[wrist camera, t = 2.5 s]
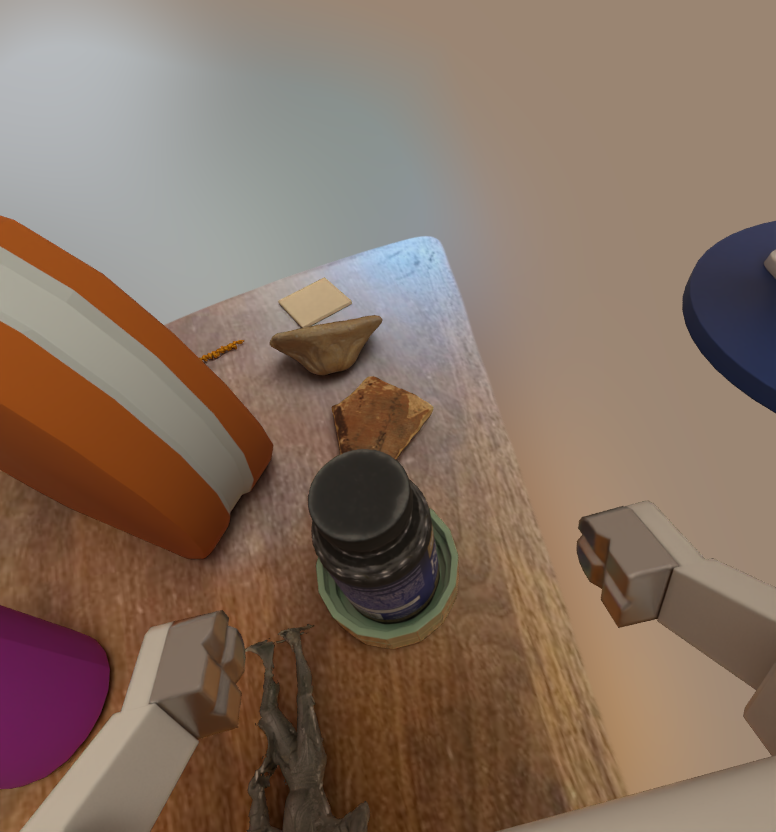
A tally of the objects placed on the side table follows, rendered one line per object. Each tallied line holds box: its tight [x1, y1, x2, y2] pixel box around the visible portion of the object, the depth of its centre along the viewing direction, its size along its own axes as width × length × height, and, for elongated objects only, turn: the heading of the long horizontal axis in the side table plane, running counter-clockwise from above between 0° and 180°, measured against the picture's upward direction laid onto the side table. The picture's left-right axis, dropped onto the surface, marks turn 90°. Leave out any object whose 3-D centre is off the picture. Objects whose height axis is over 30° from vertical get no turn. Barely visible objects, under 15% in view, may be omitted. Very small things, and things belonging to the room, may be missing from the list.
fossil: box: [270, 315, 382, 375], centre depth 39 cm, size 9×4×10 cm
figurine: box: [245, 624, 370, 832], centre depth 22 cm, size 6×4×12 cm
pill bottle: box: [308, 449, 440, 624], centre depth 24 cm, size 6×6×11 cm
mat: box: [278, 277, 352, 328], centre depth 48 cm, size 6×6×1 cm
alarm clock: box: [0, 216, 273, 559], centre depth 27 cm, size 22×10×23 cm, turn 68°
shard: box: [332, 376, 433, 459], centre depth 35 cm, size 11×8×2 cm
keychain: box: [199, 340, 244, 362], centre depth 44 cm, size 8×1×1 cm
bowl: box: [316, 508, 459, 649], centre depth 27 cm, size 8×8×3 cm
